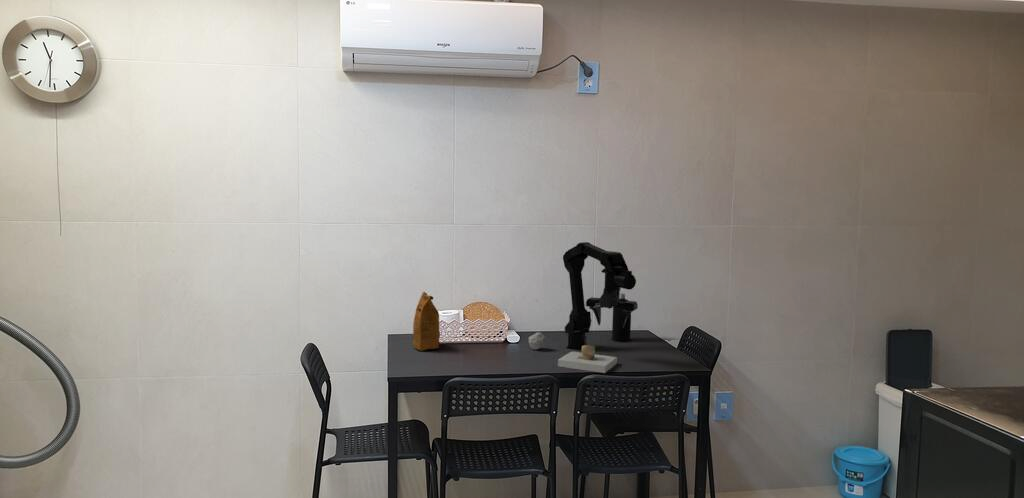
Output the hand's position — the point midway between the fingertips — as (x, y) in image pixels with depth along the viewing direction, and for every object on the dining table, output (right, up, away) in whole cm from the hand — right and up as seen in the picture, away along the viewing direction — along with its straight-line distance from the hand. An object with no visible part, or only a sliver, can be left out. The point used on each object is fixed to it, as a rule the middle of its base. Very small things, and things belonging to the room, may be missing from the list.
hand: (610, 326), depth 271 cm
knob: (-9, -13, -6) cm, 17 cm away
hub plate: (-9, -14, -6) cm, 18 cm away
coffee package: (-72, -10, +16) cm, 74 cm away
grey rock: (-28, -11, +16) cm, 34 cm away
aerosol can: (+9, -10, +34) cm, 37 cm away
